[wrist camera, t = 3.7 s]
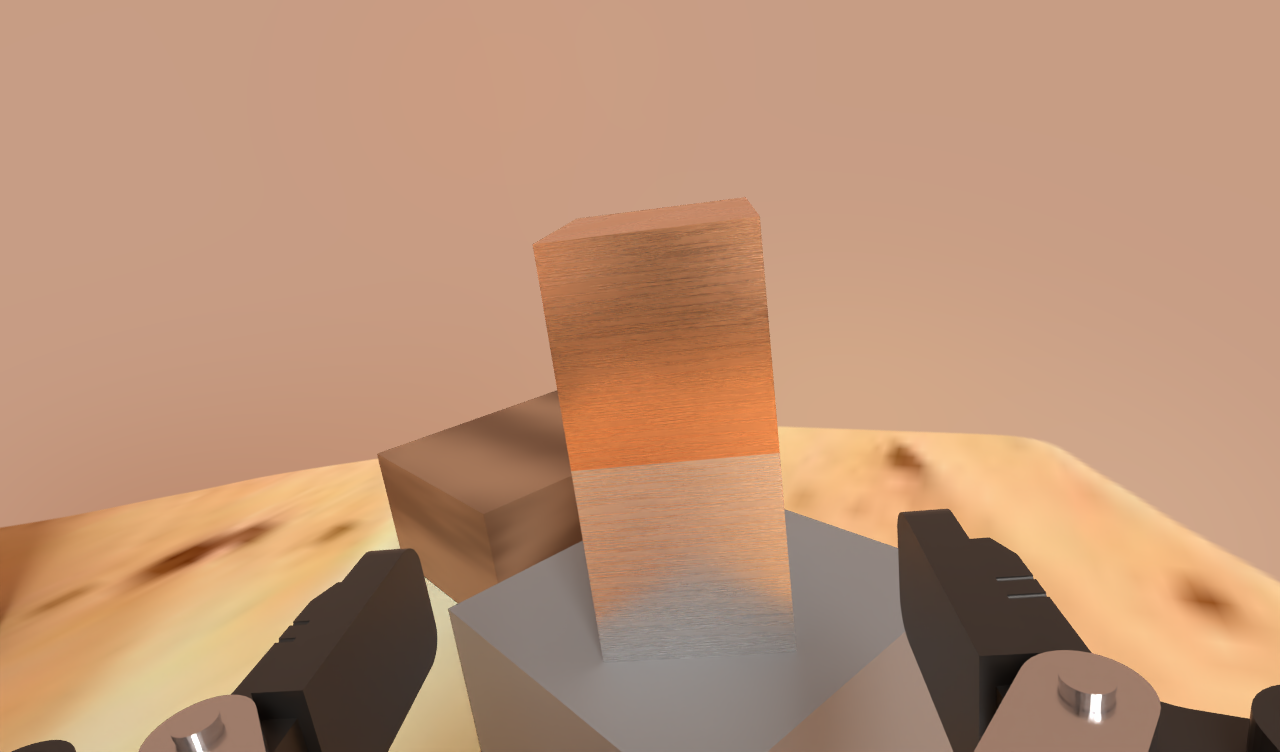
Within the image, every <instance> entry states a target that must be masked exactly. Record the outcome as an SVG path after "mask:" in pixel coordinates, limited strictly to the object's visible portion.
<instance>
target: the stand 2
mask: <svg viewBox="0 0 1280 752" xmlns="http://www.w3.org/2000/svg"><path fill="white" fill-rule="evenodd" d="M784 512H785V524H786V536H787V548H788V559H789V571H790V583H791V595H792V607H793V619H794V631H795V643H796V652H785V653H767V654H750V655H732V656H715V657H697V658H680V659H662V660H645V661H627V662H610V663H604V662H603V656H602V650H601V644H600V638H599V632H598V627H597V621H596V615H595V609H594V603H593V597H592V591H591V585H590V579H589V573H588V568H587V562H586V556H585V550H584V544H583V541H581V542H579V543H577V544H575V545H573V546H571V547H569V548H567V549H565V550H563V551H561V552H559V553H557V554H555V555H553V556H551V557H549V558H547V559H545V560H543V561H541V562H539V563H537V564H535V565H533V566H531V567H529V568H527V569H525V570H524V571H522V572H520V573H518V574H516V575H514V576H512V577H510V578H508V579H506V580H504V581H502V582H500V583H498V584H496V585H494V586H492V587H490V588H488V589H486V590H484V591H482V592H480V593H478V594H476V595H474V596H472V597H470V598H468V599H466V600H464V601H462V602H461V603H459V604H457V605H455V606H453V607H451V608H449V609H448V611H449V615H450V619H451V623H452V628H453V632H454V636H455V641H456V645H457V649H458V654H459V658H460V662H461V666H462V671H463V675H464V679H465V684H466V688H467V692H468V697H469V701H470V705H471V709H472V714H473V718H474V722H475V727H476V731H477V735H478V740H479V744H480V748H481V752H953V750H952V747H951V745H950V742H949V740H948V737H947V735H946V732H945V730H944V728H943V725H942V723H941V720H940V718H939V715H938V713H937V710H936V708H935V705H934V703H933V701H932V698H931V696H930V693H929V691H928V688H927V686H926V683H925V681H924V678H923V676H922V674H921V671H920V669H919V666H918V664H917V661H916V659H915V656H914V654H913V651H912V649H911V647H910V644H909V642H908V639H907V636H906V632H905V629H904V624H903V619H902V613H901V606H900V589H899V559H898V548H896V547H893V546H890V545H887V544H884V543H881V542H878V541H875V540H872V539H870V538H867V537H864V536H861V535H858V534H855V533H852V532H849V531H846V530H843V529H840V528H838V527H835V526H832V525H829V524H826V523H823V522H820V521H817V520H814V519H811V518H808V517H806V516H803V515H800V514H797V513H794V512H791V511H788V510H785V509H784Z"/></svg>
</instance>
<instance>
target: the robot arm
mask: <svg viewBox="0 0 1280 752" xmlns="http://www.w3.org/2000/svg"><path fill="white" fill-rule="evenodd" d="M897 528H898V559H899V589H900V606H901V613H902V619H903V624H904V629H905V632H906V636H907V639H908V642H909V644H910V647H911V649H912V651H913V654H914V656H915V659H916V661H917V664H918V666H919V669H920V671H921V674H922V676H923V678H924V681H925V683H926V686H927V688H928V691H929V693H930V696H931V698H932V701H933V703H934V705H935V708H936V710H937V713H938V715H939V718H940V720H941V723H942V725H943V728H944V730H945V732H946V735H947V737H948V740H949V742H950V745H951V747H952V750H953V752H1280V685H1276V686H1271V687H1269V688H1266V689H1264V690H1262V691H1261V692H1259V693H1258V694H1257V695H1256V696H1255V698H1254V699H1253V702H1252V706H1251V714H1250V719H1247V718H1241V717H1235V716H1229V715H1223V714H1217V713H1211V712H1205V711H1199V710H1193V709H1187V708H1183V707H1178V706H1174V705H1170V704H1167V703H1163V702H1160V700H1159V697H1158V695H1157V693H1156V691H1155V690H1154V689H1153V687H1152V686H1151V685H1150V684H1149V683H1148V682H1147V681H1146V680H1145V679H1144V678H1143V677H1142V676H1140V675H1139V674H1138V673H1136V672H1135V671H1134V670H1132V669H1130V668H1128V667H1127V666H1125V665H1123V664H1121V663H1119V662H1117V661H1114V660H1112V659H1109V658H1106V657H1103V656H1100V655H1096V654H1093V653H1091V651H1090V650H1089V649H1088V648H1087V646H1086V645H1085V644H1084V642H1083V641H1082V640H1081V638H1080V637H1079V636H1078V634H1077V633H1076V632H1075V630H1074V629H1073V628H1072V626H1071V625H1070V624H1069V622H1068V621H1067V620H1066V618H1065V617H1064V616H1063V614H1062V613H1061V612H1060V610H1059V609H1058V608H1057V606H1056V605H1055V604H1054V602H1053V601H1052V600H1051V599H1050V597H1047V596H1046V592H1045V591H1044V589H1043V588H1042V587H1041V585H1040V584H1039V583H1038V581H1037V580H1036V579H1033V575H1032V573H1031V572H1030V571H1029V569H1028V568H1027V567H1026V565H1025V564H1024V563H1023V561H1022V560H1021V559H1020V557H1019V556H1018V555H1017V554H1016V553H1014V552H1012V551H1011V550H1009V549H1008V548H1006V547H1004V546H1003V545H1001V544H999V543H998V542H996V541H994V540H993V539H991V538H977V539H969V537H968V536H967V534H966V533H965V531H964V530H963V528H962V527H961V525H960V524H959V522H958V521H957V519H956V518H955V516H954V515H953V513H952V512H951V511H950V510H949V509H938V510H925V511H912V512H900V513H899V516H898V524H897ZM293 623H294V624H293V626H289V627H288V629H287V630H286V631H285V632H284V633H283V634H282V636H281V637H280V638H279V643H275V644H274V645H273V646H272V647H271V648H270V650H269V651H268V652H267V653H266V654H265V655H264V657H263V658H262V659H261V660H260V661H259V663H258V664H257V665H256V666H255V667H254V668H253V670H252V671H251V672H250V673H249V674H248V675H247V677H246V678H245V679H244V680H243V681H242V682H241V684H240V685H239V686H238V687H237V688H236V689H235V691H234V692H233V693H232V694H231V695H223V696H218V697H214V698H210V699H207V700H204V701H201V702H198V703H196V704H194V705H192V706H189V707H187V708H185V709H183V710H182V711H180V712H178V713H176V714H175V715H173V716H172V717H170V718H169V719H167V720H166V721H165V722H163V723H162V724H161V725H159V726H158V727H157V728H156V729H155V730H154V731H153V732H152V733H151V734H150V735H149V736H148V737H147V738H146V739H145V741H144V742H143V744H142V745H141V747H140V749H139V752H388V750H389V748H390V746H391V745H392V743H393V741H394V739H395V737H396V735H397V733H398V731H399V729H400V727H401V725H402V723H403V721H404V719H405V717H406V716H407V714H408V712H409V710H410V708H411V706H412V704H413V702H414V700H415V698H416V696H417V694H418V692H419V690H420V688H421V687H422V685H423V683H424V681H425V679H426V677H427V675H428V673H429V671H430V669H431V667H432V665H433V662H434V659H435V655H436V649H437V629H436V624H435V620H434V615H433V611H432V607H431V603H430V599H429V595H428V590H427V586H426V582H425V578H424V574H423V570H422V565H421V562H420V558H419V556H418V554H417V552H416V551H415V550H414V549H411V548H407V549H394V550H380V551H369V552H367V553H366V554H365V555H364V556H363V557H362V558H361V559H360V560H359V562H358V563H357V564H356V565H355V566H354V568H353V569H352V570H351V571H350V573H349V574H348V575H347V576H346V577H345V579H344V580H343V581H342V582H338V583H336V584H335V585H333V586H332V587H330V588H329V589H328V590H326V591H325V592H323V593H322V594H320V595H319V596H317V597H316V598H315V599H313V600H312V601H311V602H310V603H309V604H308V605H307V606H306V607H305V609H304V610H303V611H302V612H301V613H300V614H299V616H298V617H297V618H296V619H295V620H294V621H293ZM12 752H76V750H75V748H74V746H73V745H72V744H71V743H69V742H67V741H62V740H49V741H43V742H39V743H35V744H31V745H28V746H25V747H22V748H19V749H17V750H15V751H12Z"/></svg>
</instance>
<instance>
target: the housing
mask: <svg viewBox="0 0 1280 752" xmlns="http://www.w3.org/2000/svg"><path fill="white" fill-rule="evenodd" d="M533 249H534V255H535V261H536V267H537V272H538V278H539V284H540V290H541V296H542V301H543V308H544V314H545V320H546V326H547V332H548V337H549V343H550V349H551V355H552V361H553V367H554V373H555V379H556V385H557V391H558V396H559V402H560V408H561V414H562V420H563V426H564V432H565V438H566V444H567V450H568V455H569V461H570V467H571V473H572V479H573V485H574V491H575V497H576V503H577V509H578V514H579V520H580V526H581V532H582V538H583V544H584V550H585V556H586V562H587V568H588V573H589V579H590V585H591V591H592V597H593V603H594V609H595V615H596V621H597V627H598V632H599V638H600V644H601V650H602V656H603V662H604V663H610V662H627V661H645V660H662V659H680V658H697V657H715V656H732V655H750V654H767V653H785V652H796V643H795V631H794V619H793V607H792V595H791V583H790V571H789V559H788V548H787V536H786V524H785V512H784V500H783V488H782V476H781V464H780V452H779V440H778V428H777V417H776V405H775V393H774V381H773V369H772V357H771V345H770V334H769V321H768V309H767V298H766V286H765V274H764V262H763V250H762V238H761V226H760V216H759V215H758V213H757V212H756V211H755V209H754V208H753V207H752V205H751V204H750V203H749V201H748V200H747V199H746V197H743V198H735V199H728V200H720V201H712V202H704V203H696V204H688V205H680V206H673V207H665V208H657V209H649V210H641V211H633V212H625V213H617V214H610V215H602V216H595V217H586V218H578V219H575V220H574V221H572V222H570V223H568V224H567V225H565V226H563V227H562V228H560V229H558V230H557V231H555V232H553V233H551V234H549V235H548V236H546V237H544V238H543V239H541V240H539V241H537V242H536V243H534V244H533Z"/></svg>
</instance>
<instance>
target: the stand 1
mask: <svg viewBox="0 0 1280 752" xmlns="http://www.w3.org/2000/svg"><path fill="white" fill-rule="evenodd" d="M377 455H378V459H379V464H380V468H381V472H382V476H383V480H384V484H385V488H386V492H387V496H388V500H389V504H390V508H391V512H392V516H393V520H394V524H395V528H396V532H397V536H398V540H399V545H400V549H407V548H411V549H414V550H415V551H416V552H417V554H418V556H419V558H420V562H421V565H422V570H423V574H424V577H426V578H427V579H428V580H430V581H431V582H432V583H433V584H435V585H436V586H437V587H438V588H440V589H441V590H442V591H443V592H445V593H446V594H447V595H448V596H450V597H451V598H452V599H453V600H455V601H456V602H457V603H461V602H462V601H464V600H466V599H468V598H470V597H472V596H474V595H476V594H478V593H480V592H482V591H484V590H486V589H488V588H490V587H492V586H494V585H496V584H498V583H500V582H502V581H504V580H506V579H508V578H510V577H512V576H514V575H516V574H518V573H520V572H522V571H524V570H525V569H527V568H529V567H531V566H533V565H535V564H537V563H539V562H541V561H543V560H545V559H547V558H549V557H551V556H553V555H555V554H557V553H559V552H561V551H563V550H565V549H567V548H569V547H571V546H573V545H575V544H577V543H579V542H581V541H583V538H582V532H581V526H580V520H579V514H578V509H577V503H576V497H575V491H574V485H573V479H572V473H571V467H570V461H569V455H568V450H567V444H566V438H565V432H564V426H563V420H562V414H561V408H560V402H559V396H558V391H555V392H551V393H548V394H546V395H543V396H540V397H537V398H534V399H531V400H528V401H526V402H523V403H520V404H517V405H514V406H511V407H509V408H506V409H503V410H501V411H497V412H494V413H492V414H489V415H486V416H483V417H480V418H478V419H475V420H472V421H469V422H466V423H463V424H460V425H458V426H455V427H452V428H449V429H446V430H443V431H441V432H438V433H435V434H432V435H429V436H426V437H423V438H421V439H418V440H415V441H412V442H409V443H407V444H404V445H401V446H398V447H395V448H392V449H389V450H387V451H384V452H381V453H378V454H377Z"/></svg>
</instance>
